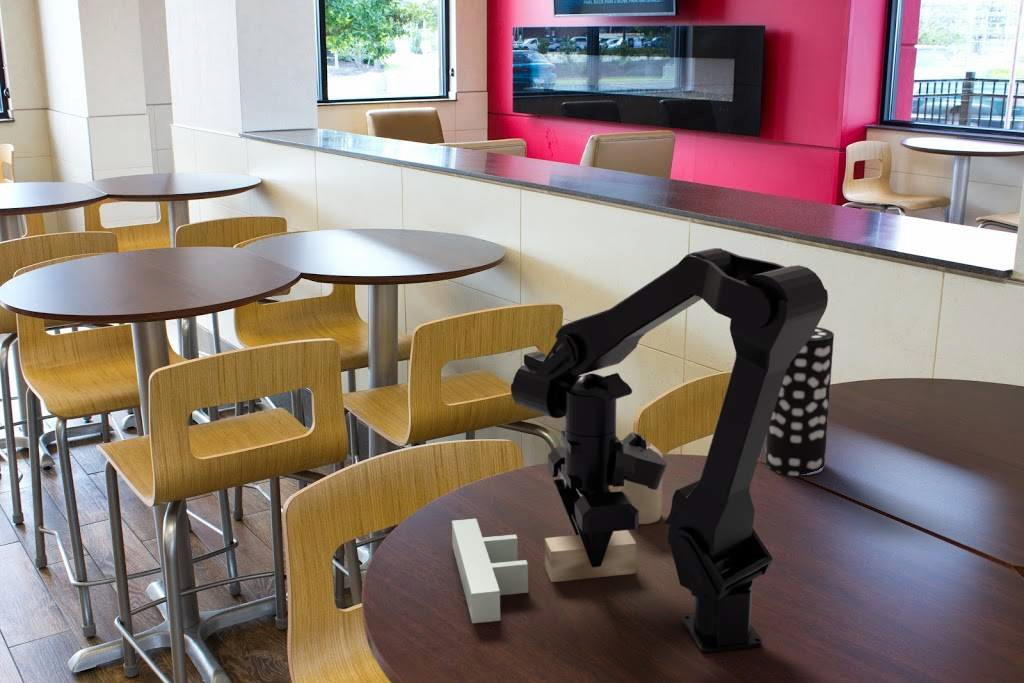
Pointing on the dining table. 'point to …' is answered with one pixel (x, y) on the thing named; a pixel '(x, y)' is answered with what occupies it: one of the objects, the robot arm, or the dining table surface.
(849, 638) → the dining table surface
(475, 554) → the rail
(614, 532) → the tan wooden block
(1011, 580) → the dining table surface
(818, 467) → the spotted tube
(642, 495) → the candle
